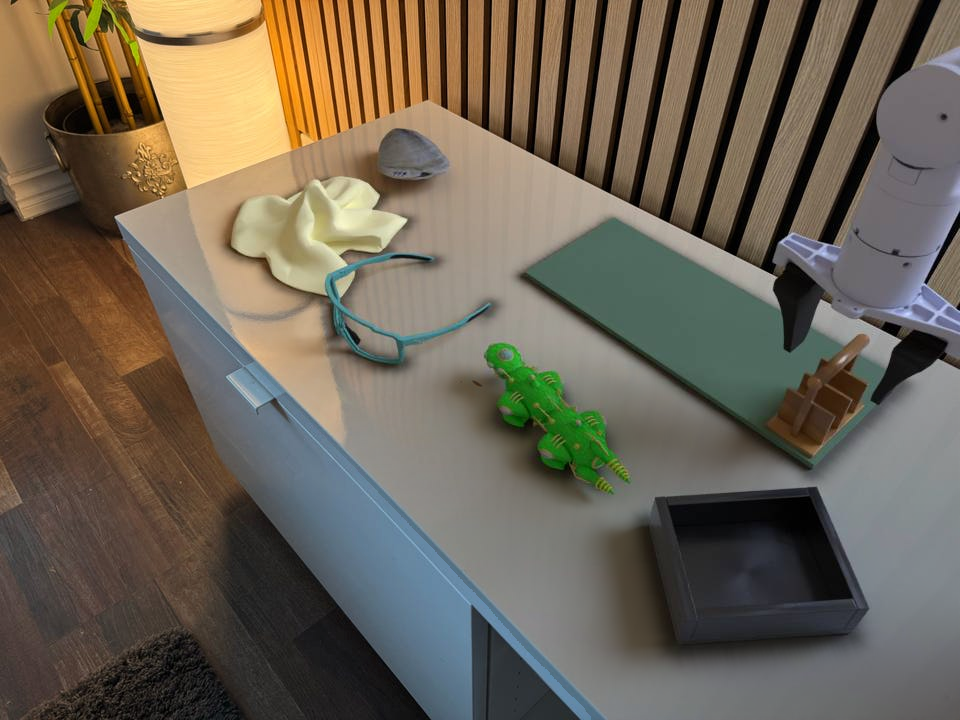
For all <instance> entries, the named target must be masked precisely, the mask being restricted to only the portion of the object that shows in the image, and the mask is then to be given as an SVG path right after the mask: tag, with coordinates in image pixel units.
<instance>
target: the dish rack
mask: <svg viewBox="0 0 960 720" xmlns="http://www.w3.org/2000/svg"><path fill="white" fill-rule="evenodd" d="M870 341H871V340H870V337H869V336H868V335H867V334H865V333H859V334H857V335H856V336H855V337H854V338H852V339H851V341H849V342H848V343H847V344H845V345H844V346H845V347H844V348H843V349H841V350H840V351H839V352H838V353H837V354H836V355H835V356H834V357H833V358H831V359H830V360H828V359H826V358H824V357H822V358H821V360H820V362H819V365H818V367H817V370H816V372H815V374H813V375H811V374H810V373H808V372H805V373H804V376H803V378H802V381H801V383H800V386H799V388H798V391H795V390H794V389H792V388H790V387H788V388H787V390H786V393H785V396H784V398H783V401H782V403H781V406H780V409H779V411H778V413H777V414H776V415H775V416H774V417H773V418H772V419H771V420H770V421H768V422H767V423H766V424H765V427H766V428H767V429H769V430H770V431H772V432H773V433H775V434H776V435H778V436H779V437H781V438H782V439H784V440H785V441H787V442H788V443H790V444H791V445H793V446H794V447H796V448H797V449H799V450H800V451H802V452H803V453H805V454H806V455H808V456H809V457H811V458H813V457H814V456H815V455H816V454H817V453H818V452H819V451H820V450H821V449H822V448H823V447H824V446H825V445H826V444H827V443H828V442H829V441H830V440H831V439H832V438H833V437H834V436H835V435H836V434H837V433H838V432H839V431H840V430H841V429H842V428H843V427H844V426H845V425H846V424H847V423H848V422H849V421H850V420H851V419H852V418H853V417H854V416H855V415H856V414H857V413H859V412H860V411H861V410H862V409H863V408H864V406H865V404H863V403H861V402H860V401H861V399H862V397H863V395H864V393H865V391H866V389H867V387H868V385H869V383H867V382H866V381H864V380H862V379H860V378H859V377H857V376H855V375H854V374H852V371H853V368H854V366H855V364H856V362H857V360H858V358H859V355H861V354H862V351H863V350H864V349H866V347H867V346H869V344H870ZM843 367H844V368H843Z"/></svg>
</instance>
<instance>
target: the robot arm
mask: <svg viewBox="0 0 960 720" xmlns="http://www.w3.org/2000/svg"><path fill="white" fill-rule="evenodd" d="M876 129H877V133H878V136H879V138H880V140H881V145H880V147H879V150H878V152H877V155H876V157H875V160H874V161H873V165H872V167H871V170H870V172H869V174H868V177H867V180H866V183H865V185H864V188H863V190H862V193H861V195H860V198H859V200H858V203H857V206H856V208H855V211H854V214H853V217H852V220H851V221H850V225H849V226H848V230H847V232H846V234H845V238H844V240H843V243H842V245H841V246H838V245H834V244H829V243H825V242H821V241H818V240H815V239H810V238H808V237H805V236H802V235H800V234H797V232H794V231H792V232H790V234H788V235H786V236H785V237H784V238H782V239H781V240H780V241H779V242H777V245H776V248H775V252H774V255H773V258H772V263H773V264H775V265H777V266H778V267H781V268H784V270H783V271H782V272H781V274H780V275H779V276H777V277H776V279H774V281H773V286H772V292H773V294H774V296H775V298H776V300H777V303H778V305H779V308H780V309H779V310H780V311H781V313H782V319H783V329H784V345H783V349H784V350H786V351H787V352H789V353H791V352H792V351H793V350H794V349H795V348H797V347H798V346H799V345H800V344H801V343H802V342H804V340H805V338H806V336H807V334H808V332H809V329H810V327H811V326H812V323H813V321H814V317H815V314H816V312H817V309H818V306H819V304H820V302H821V301H822V298H823V296H824V294H825V292H826V293H828V295H829V296H831V297H832V298H833V299H832V301H831V304H830V307H831V309H832V310H834V311H835V312H837V313H838V314H840V315H843V316H844V317H846V318H848V319H850V320H859V319H860V318H861V317H862V316H864V317H865V316H866V317H869V318H873V319H876V320H880V321H883V322H886V323H890V324H893V325H897V326H901V327H903V328H907V329H911V330H912V331H910V332H909V333H908V334H907V335H905V337H903V338H902V339H901V340H900V341H898V343H897V344H896V345H895V346H894V347H893V348H892V350H891V353H890V357H889V362H888V364H887V366H886V372H885V374H884V376H883V378H882V380H881V381H880V383H879V384H878V386H877V388H876V389H875V391H874V392H873V394H872V396H871V399H870V401H872V402H874V403H875V404H877V405H876V406H879V405H881V404H882V403H883V402H884V401H885V400H886V399H887V398H888V397H889V396H890V395H891V394H892V393H893V391H894V389H896V387H897V386H898V385H899V384H901V383H903V382H904V381H906V380H907V379H909V378H911V377H913V376H915V375H917V374H919V373H922V372H924V371H925V370H927V369H928V368H930V367H931V366H932V365H934V364H935V362H936V361H937V360H938V359H939V358H940V357H941V356H943V354H944V353H946V354H947V355H949V356H950V357H952V358H954V359H956V360H960V310H958V308H956V307H955V306H954V305H953V304H951V303H950V302H948V301H947V300H946V299H945V298H944V297H942V296H941V295H940V294H938V293H937V292H936V291H935V290H933V289H932V288H931V287H930V286H929V285H927V284H926V283H925V281H926V279H927V277H928V275H929V273H930V271H931V269H932V267H933V265H934V263H935V261H936V259H937V257H938V255H939V253H940V251H941V249H942V248H943V245H944V243H945V241H946V239H947V237H948V234H949V233H950V230H951V228H952V227H953V224H954V223H955V221H956V219H957V217H958V215H959V213H960V45H958V46H956V47H954V48H951V49H949V50H948V51H946V52H944V53H942V54H940V55H938V56H936V57H934V58H932V59H930V60H928V61H926V62H924V63H922V64H920V65H918V66H916V67H914V68H912V69H910V70H908V71H907V72H905V73H903V74H902V75H900V76H899V77H898V78H897V79H895V80H893V82H892V83H891V84H890V85H889V86H888V87H887V88H886V89H885V90H884V92H883V94H882V95H881V98H880V100H879V103H878V106H877V110H876ZM811 328H812V327H811Z"/></svg>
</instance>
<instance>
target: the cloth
mask: <svg viewBox="0 0 960 720" xmlns="http://www.w3.org/2000/svg"><path fill="white" fill-rule="evenodd" d="M380 196H381V194H380V193H379V192H377V190H375V189H374V188H373V186H371V185H370V184H369V183H368V182H366V181H364V180H362V179H359V178H355V177H350V176H349V177H348V176H342V175H341V176H334V177H331V178H329V179H326V180H323V181H320V180H319V179H318V178H317V179H314V178H312V179H311V180H309V181H308V182H306V183H305V184H304V188H303V190H301V191H299V192H298V193H296V194H294V195H292V196H290V197H289V198H287V199H286V198H283V197H281V196H280V195H276V194H266V195H257V196H253V197H249V198H247V199H246V200H244V202H243V203H242V204H241V205H240V208H239V211H238V213H237V215H236V217H235V220H234V223H233V227H232V230H231V231H232V232H231V237H230V246H231V248H233V250H236V251H237V252H238V253H239V254H241V255H243V256H246V257H250V258H262V259H263V258H265V259H266V261H267V263H268V265H269V269H270V271H271V274H272V275H273V276H274V277H275V279H277V280H278V281H280V282H281V283H283V284H285V285H287V286H289V287H292V288H294V289H296V290H300V291H302V292H306V293H310V294H311V293H312V294H317V295H321V296H325V297H328V295H327V293H326V290H325V280H326V277H327V275H328V274H329V273H332V272H334V271H336V270H339V269H341V268H343V267H345V266H348V265H349V264H347V262H346V261H345V260H344V259H343V258H342V257H341V256H340V255H342V254H343V253H345V252H346V251H356V252H363V253H364V252H365V253H370V254H379V253H382V251H383V250H384V249H385V248H386V247H387V246H388V245H389V243H390V242H391V241H392V239H393V238H394V236H395V235H396V234H397V233H398V232H399V231H400V230H402V228H403V227H404V225H406V223H407V222H408V218H407V217H403V216H401V215H398V214H395V213H392V212H388V211H382V210H378V209H373V208H375V206H376V205H377V203H378V201H379V199H380ZM355 275H356V270H354V271H353V272H351V273H350V274H349V275H347V276H345V277H343V278H340V279H339V280H337V281H335V283H336V287H337V290H338V293H339V296H340V299H341V298H342V297H343V296H344V295H345V294H346V292H347V290H348V289H349V287H350V286H351V284H352V282H353V281H354V278H355ZM331 291H332V290H331Z"/></svg>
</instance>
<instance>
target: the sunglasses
mask: <svg viewBox="0 0 960 720" xmlns="http://www.w3.org/2000/svg"><path fill="white" fill-rule="evenodd" d="M400 259H405V260H415V261H420V262H421V261H422V262H429V263H430V262H431V263H432V262H433V261H435V257H434V256H430V255H429V256H428V255H423V254H419V253H418V254H417V253H410V252H389V253H384V254H382V255H377V256H374V257H370V258H367V259H363V260H360V261H357V262H356V261H355V262H353V263H351V264H347V265H348V266H345V267H343V268H341V269H339V270H336V271H334V272H332V273H329V274H328V275H327V277H326V280H325V290H326V293H327V295H328V296H327V297H328V299H329V300H330V301H331V303H332V304H333V313H332V315H333V323H334V327H335V328H334V329H335V331H336V333H337V335H338V336H342V338H343V339H344V340H345V341H346V343H347V345H348V346H349V347H350V348H351V349H352V350H353V351H354V352H355V353H356V354H358V355H359V356H361V357H363V358H366V359H368V360H371V361H373V362H377V363H381V364H382V363H384V364H391V365H393V364H394V365H395V364H401V363H403V362H404V361H405V348H406V347H410V346H416V345H422V344H424V343H426V342H427V341H429V340H431V339H434V338H437V337H439V336H442V335H445V334H447V333H451V332H455V331H458V330H459V329H461V328H462V327H464V326H466V324H467V325H468V323H470V322H472V321H473V320H474V319H476V318H478V317H479V316H481V315H482V314H484V313H485V312H487V310H489V308H490V306H491V304H492V303H491V302H487V304H485V305H484V306H482V307H481V308H480V309H478V310H476V311H474V312H473V313H471V314H469V315H467V316H465V317H464V318H462V319H461V320H459V321H457V322H455V323H453V324H451V325H449V326H446V327H444V328H439V329H437V330H434V331H433V330H432V331H429V332H423V333H417V334H412V335H404V336H402V335H400V334H398V333H394V332H391V331H386V330H384V329H381V328H378V327H377V326H376V325H375V324H373V323H371V322H369V321H366V320H364V319H363V318H360V317H358V316H357V315H355V314H354V313H352V312H351V311H350V310H349V309H347V308H346V307H345V306H344V305H343V304H342V303H341V298H340V296H339V293H338V290H337V287H336V283H335V281H337V280H339V279H340V278H343V277H345V276H347V275H349V274H350V273H351V272H353V271H356V270H357V269H359V268H362V267H363V266H367V265H372V264H380V263H382V262H386V261H389V260H400ZM331 290H332V291H331ZM345 316H346V317H348V318H349V319H351V320H352V321H354V322H356V323H358V324H359V325H361V326H363V327H366V328H368V329H370V331H371V332H372V333H375V334H378V335H382V336H384V337H388V338H392V339H393V340H394V341H395V345H396V348H397V356H398V357H397V358H390V357H389V358H388V357H380V356H376V355H373V354H370V353H368V352H365V351H364V350H362V349H360V347H358V346H359V345H360V344H361V341H362V340H361V338H360V337H359V335H358V334H357V333H356V332H355V330H352V329H351V328H350V327H349V326H348V325H347V323H346V322H345Z"/></svg>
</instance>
